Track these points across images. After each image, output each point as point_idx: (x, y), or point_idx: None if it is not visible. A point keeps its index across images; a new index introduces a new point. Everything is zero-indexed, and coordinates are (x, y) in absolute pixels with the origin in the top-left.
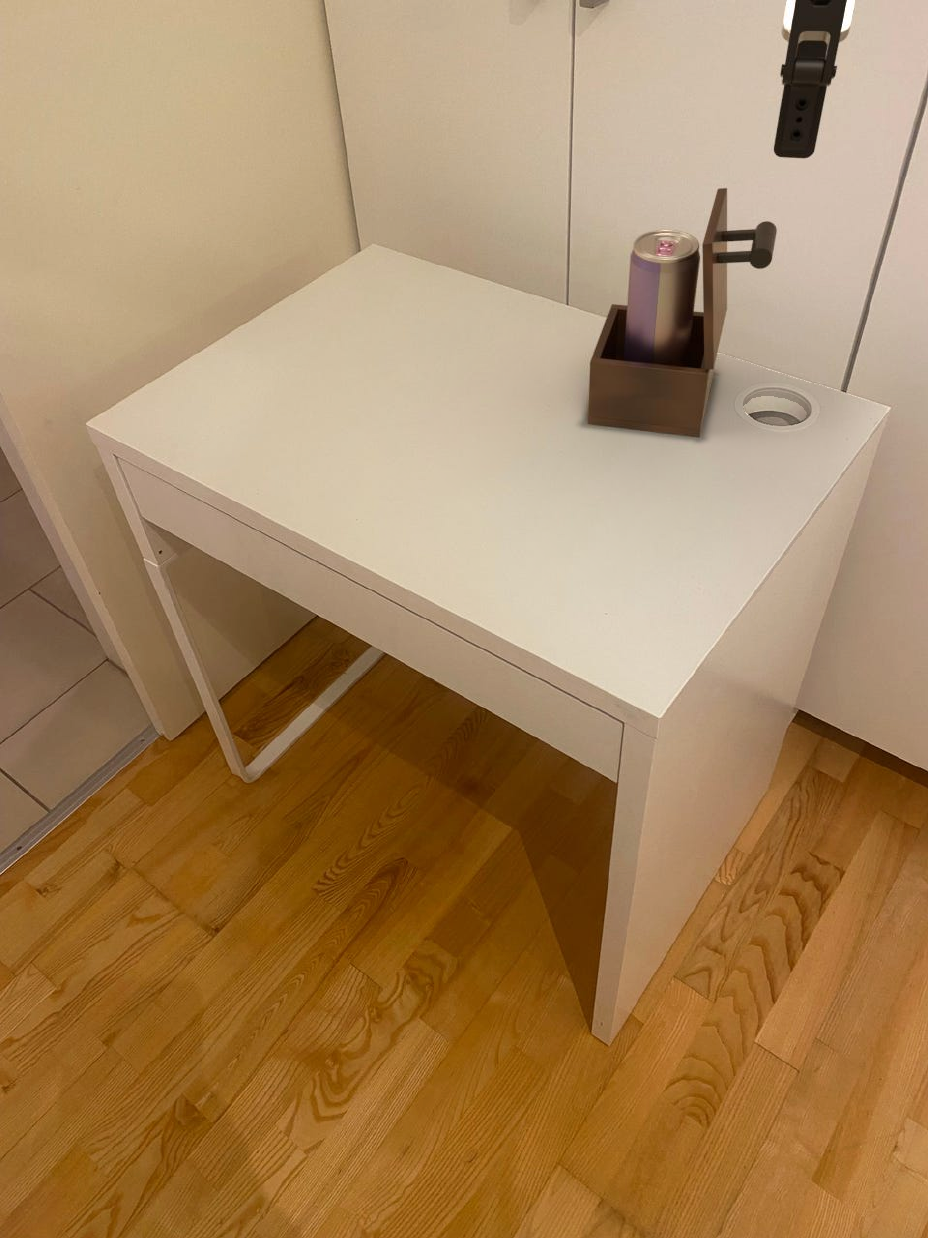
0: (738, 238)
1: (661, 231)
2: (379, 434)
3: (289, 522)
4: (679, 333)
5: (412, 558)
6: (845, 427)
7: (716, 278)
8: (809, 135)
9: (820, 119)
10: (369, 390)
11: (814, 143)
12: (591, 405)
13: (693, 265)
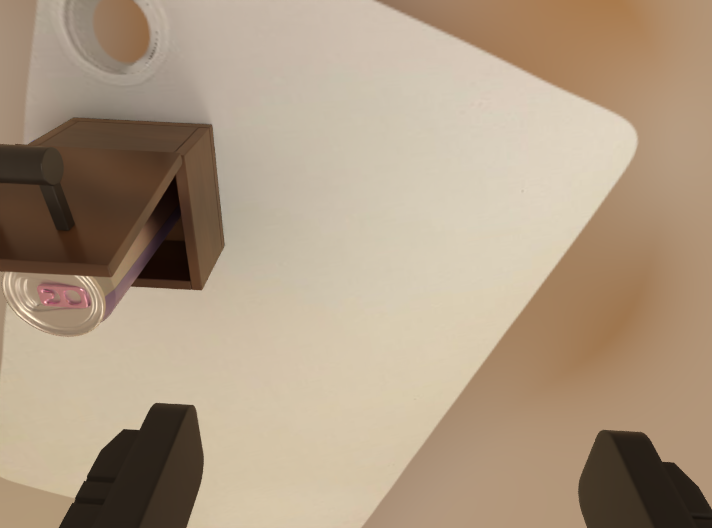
0: None
1: (13, 305)
2: (295, 409)
3: (425, 438)
4: None
5: (459, 353)
6: None
7: (94, 213)
8: (706, 506)
9: (693, 521)
10: (231, 429)
11: (658, 458)
12: (217, 255)
13: None
